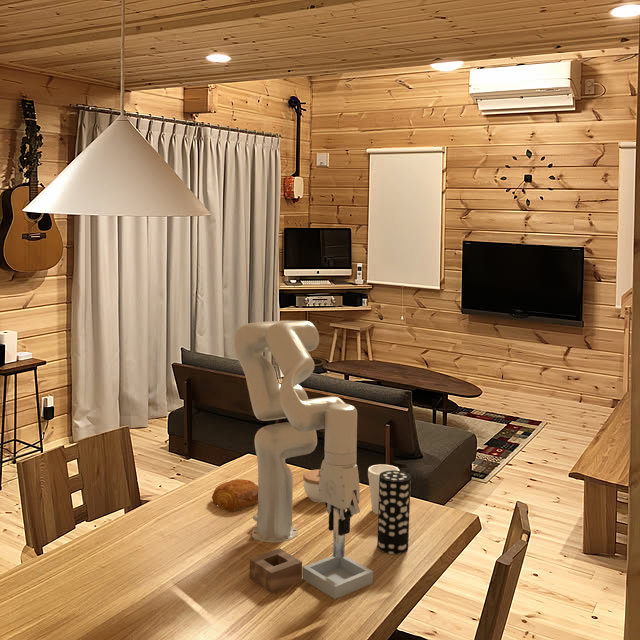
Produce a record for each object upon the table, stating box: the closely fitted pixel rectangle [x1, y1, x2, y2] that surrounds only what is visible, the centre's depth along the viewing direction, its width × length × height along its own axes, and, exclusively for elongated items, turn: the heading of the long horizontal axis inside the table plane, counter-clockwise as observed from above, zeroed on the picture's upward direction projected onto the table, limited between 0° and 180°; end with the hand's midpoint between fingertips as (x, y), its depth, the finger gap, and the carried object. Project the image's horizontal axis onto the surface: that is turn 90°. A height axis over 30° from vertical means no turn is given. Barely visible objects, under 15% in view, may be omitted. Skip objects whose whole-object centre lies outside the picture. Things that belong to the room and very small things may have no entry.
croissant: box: [211, 478, 258, 512], centre depth 221 cm, size 14×16×8 cm
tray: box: [302, 554, 374, 600], centre depth 172 cm, size 12×12×4 cm
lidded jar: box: [302, 469, 325, 503], centre depth 225 cm, size 11×11×9 cm
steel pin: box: [332, 506, 346, 558], centre depth 170 cm, size 3×3×12 cm
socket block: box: [249, 547, 303, 595], centre depth 172 cm, size 9×9×6 cm
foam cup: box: [367, 464, 401, 515], centre depth 216 cm, size 10×9×13 cm
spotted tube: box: [376, 470, 412, 555], centre depth 191 cm, size 8×8×20 cm
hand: (339, 530), depth 170 cm, fingers closed on steel pin, 2 cm apart
